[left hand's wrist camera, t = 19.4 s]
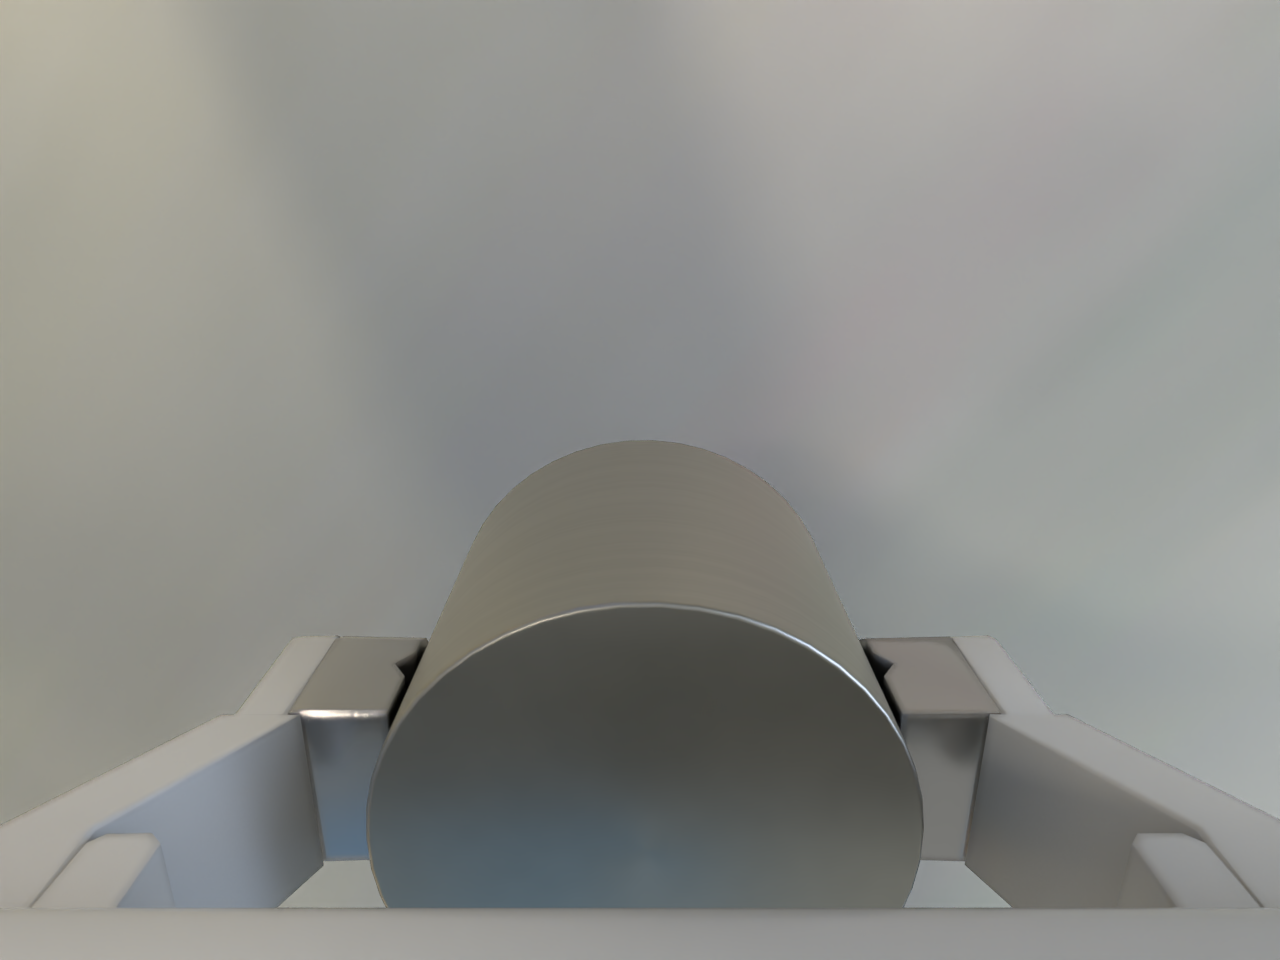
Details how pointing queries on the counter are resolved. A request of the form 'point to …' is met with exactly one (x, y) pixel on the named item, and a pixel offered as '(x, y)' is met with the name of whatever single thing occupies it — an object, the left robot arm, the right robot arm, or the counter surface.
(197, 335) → the counter surface
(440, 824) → the canister
